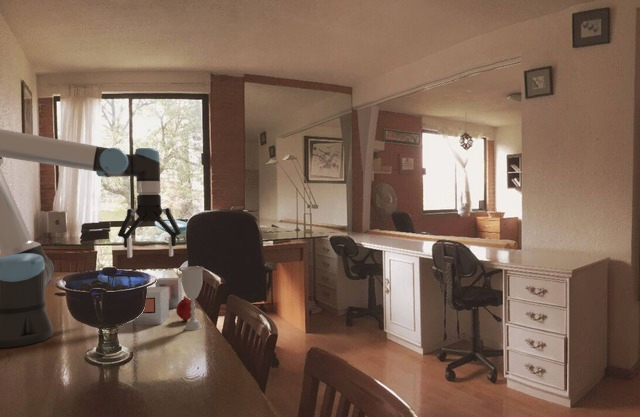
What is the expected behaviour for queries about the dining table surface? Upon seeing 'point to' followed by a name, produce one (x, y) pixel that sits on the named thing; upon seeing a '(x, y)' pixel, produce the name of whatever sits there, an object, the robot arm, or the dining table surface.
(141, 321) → the plate
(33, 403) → the dining table surface
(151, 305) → the pink square post
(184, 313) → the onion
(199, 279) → the chalice
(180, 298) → the socket
